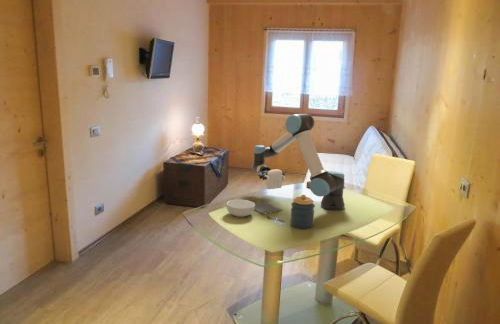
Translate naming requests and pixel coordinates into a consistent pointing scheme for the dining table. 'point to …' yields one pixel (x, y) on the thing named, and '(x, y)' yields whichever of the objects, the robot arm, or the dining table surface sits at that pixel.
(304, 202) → the canister
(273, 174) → the beige rounded block
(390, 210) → the dining table surface
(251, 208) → the cereal bowl
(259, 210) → the mat
